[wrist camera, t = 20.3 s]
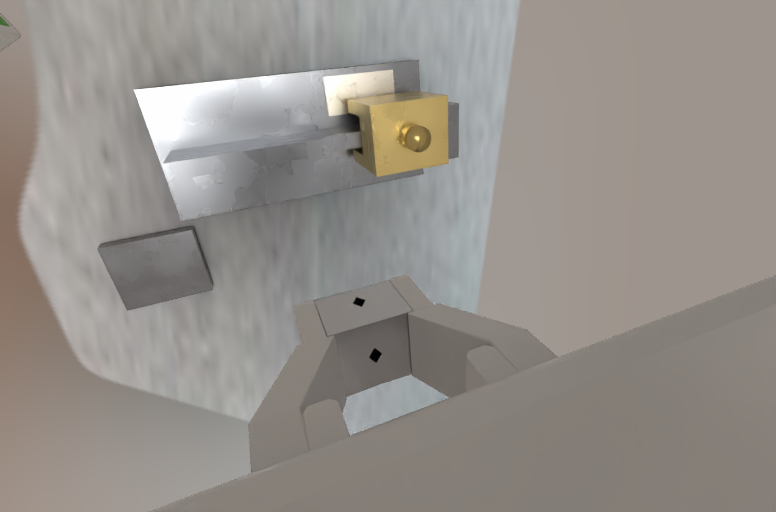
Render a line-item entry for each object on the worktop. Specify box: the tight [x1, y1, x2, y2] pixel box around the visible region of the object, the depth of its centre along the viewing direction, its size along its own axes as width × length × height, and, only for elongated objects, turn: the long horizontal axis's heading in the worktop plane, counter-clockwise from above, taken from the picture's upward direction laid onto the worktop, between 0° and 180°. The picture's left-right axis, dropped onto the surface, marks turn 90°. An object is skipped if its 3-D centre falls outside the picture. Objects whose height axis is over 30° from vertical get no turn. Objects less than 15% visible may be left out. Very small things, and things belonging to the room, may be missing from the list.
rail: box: [134, 60, 459, 221], centre depth 30 cm, size 10×22×8 cm, turn 95°
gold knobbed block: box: [347, 91, 448, 177], centre depth 30 cm, size 5×6×7 cm
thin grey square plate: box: [98, 226, 213, 311], centre depth 34 cm, size 6×7×1 cm
